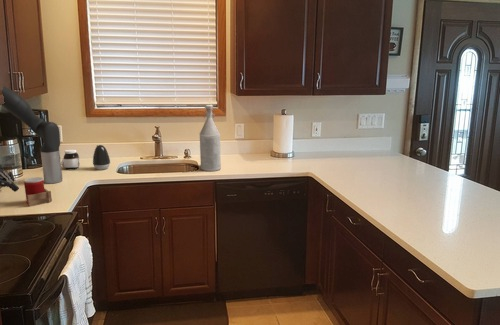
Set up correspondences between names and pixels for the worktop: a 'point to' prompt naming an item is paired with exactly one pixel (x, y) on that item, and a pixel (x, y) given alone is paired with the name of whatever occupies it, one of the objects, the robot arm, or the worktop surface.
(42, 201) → the v-block stop
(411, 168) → the worktop surface
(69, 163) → the spread jar
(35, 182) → the canned food
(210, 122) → the grey bottle
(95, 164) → the black egg shaped device
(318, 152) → the worktop surface
